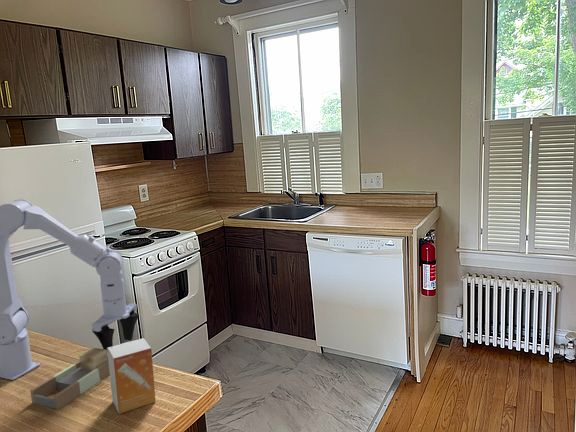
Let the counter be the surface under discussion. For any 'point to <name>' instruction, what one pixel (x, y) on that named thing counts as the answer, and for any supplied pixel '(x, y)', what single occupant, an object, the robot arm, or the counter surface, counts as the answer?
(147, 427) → the counter surface
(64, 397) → the board
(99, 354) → the maple block
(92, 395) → the counter surface
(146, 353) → the small box
